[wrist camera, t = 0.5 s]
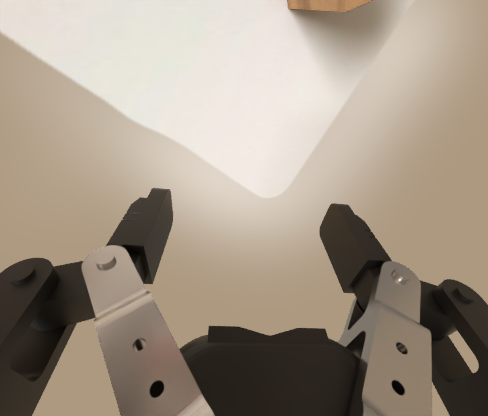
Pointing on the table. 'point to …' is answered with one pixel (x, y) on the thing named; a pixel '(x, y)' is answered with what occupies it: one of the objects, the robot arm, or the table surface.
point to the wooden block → (326, 4)
